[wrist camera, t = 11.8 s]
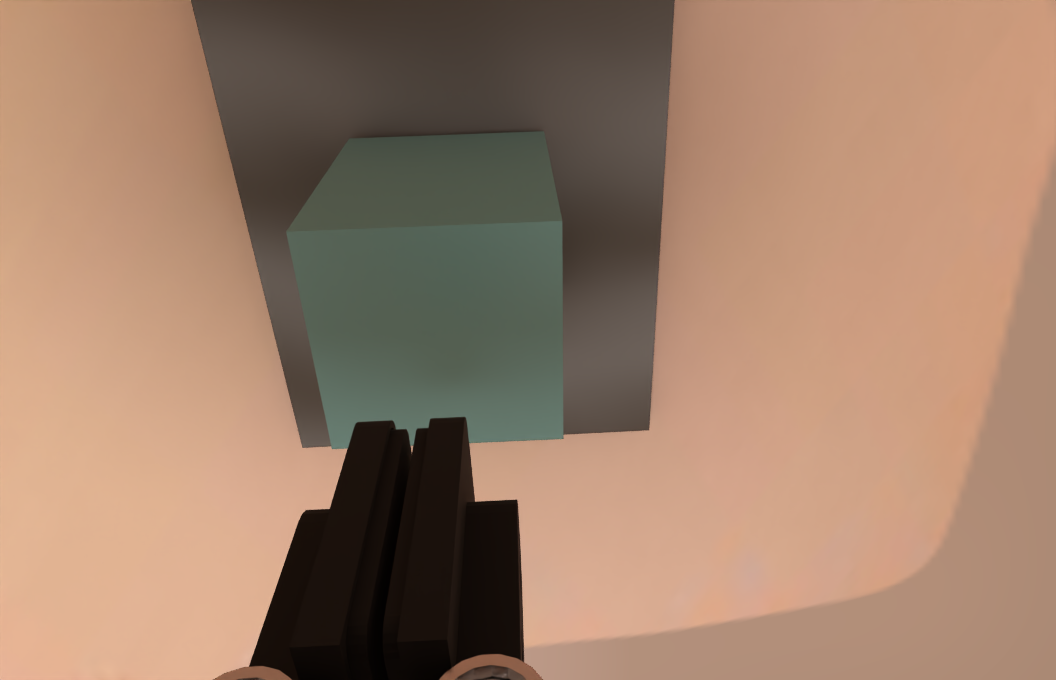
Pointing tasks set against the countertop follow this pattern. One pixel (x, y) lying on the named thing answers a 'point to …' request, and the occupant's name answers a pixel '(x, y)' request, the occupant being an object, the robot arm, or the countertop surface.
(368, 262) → the teal cuboid
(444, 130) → the grey base plate
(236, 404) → the countertop surface
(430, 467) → the robot arm
